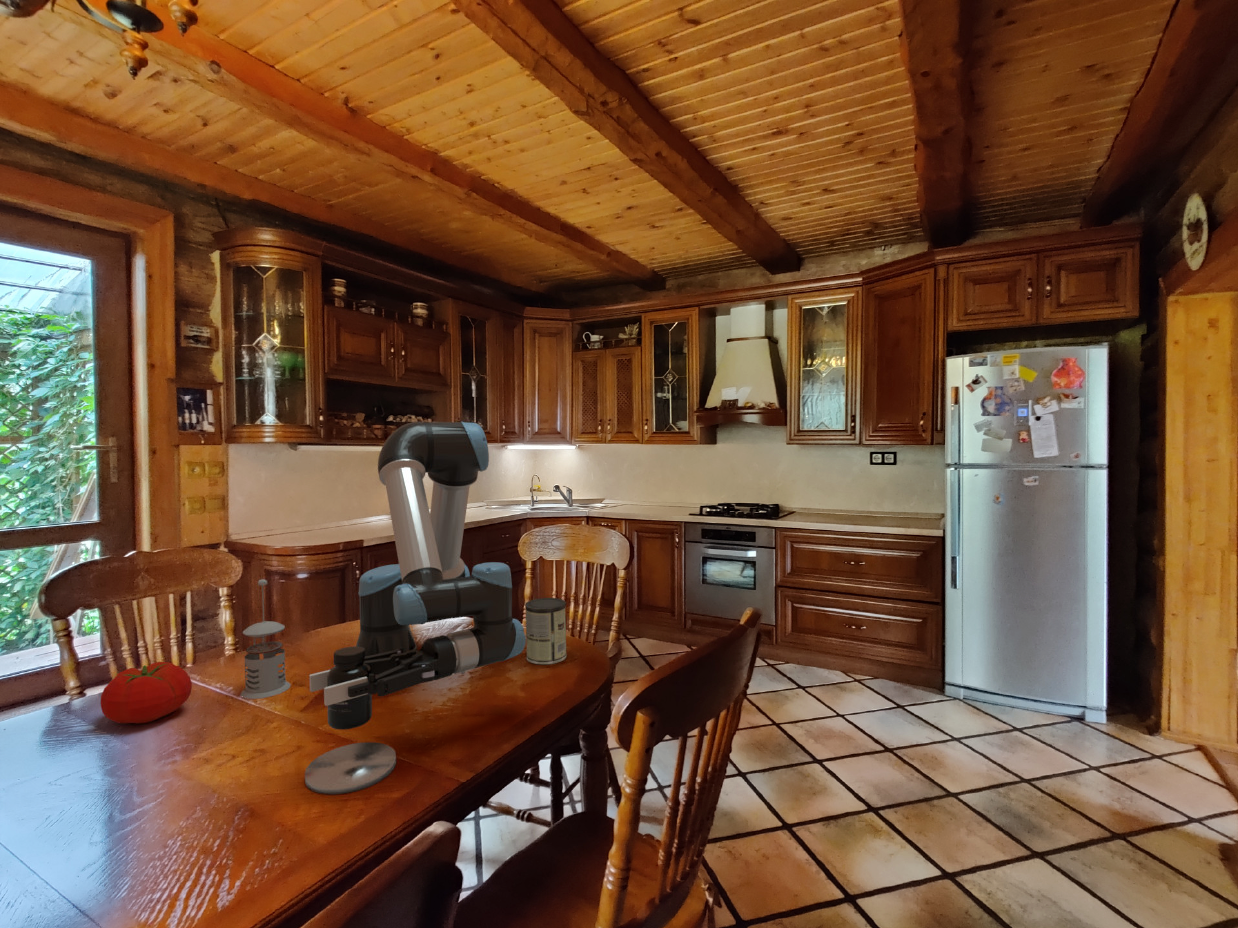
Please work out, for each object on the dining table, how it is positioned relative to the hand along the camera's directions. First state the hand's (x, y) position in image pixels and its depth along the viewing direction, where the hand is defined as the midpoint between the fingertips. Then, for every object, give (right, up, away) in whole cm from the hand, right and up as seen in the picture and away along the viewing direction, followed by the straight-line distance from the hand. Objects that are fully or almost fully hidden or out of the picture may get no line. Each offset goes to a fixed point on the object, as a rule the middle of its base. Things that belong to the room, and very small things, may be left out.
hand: (317, 689), depth 97 cm
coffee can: (+30, -13, +56) cm, 65 cm away
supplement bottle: (+4, -7, +4) cm, 9 cm away
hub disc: (+4, -15, +4) cm, 16 cm away
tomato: (-47, -15, +25) cm, 56 cm away
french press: (-31, -14, +39) cm, 52 cm away
